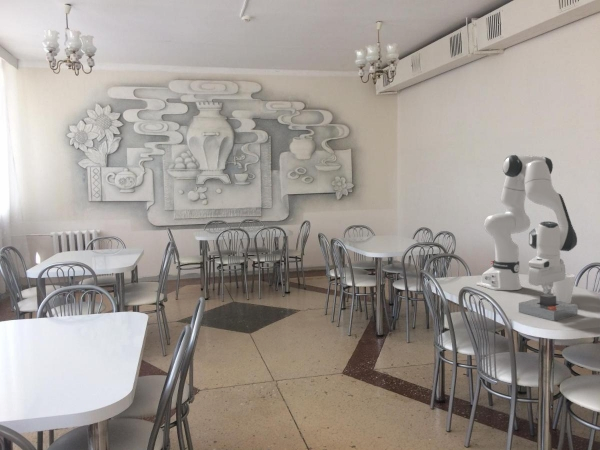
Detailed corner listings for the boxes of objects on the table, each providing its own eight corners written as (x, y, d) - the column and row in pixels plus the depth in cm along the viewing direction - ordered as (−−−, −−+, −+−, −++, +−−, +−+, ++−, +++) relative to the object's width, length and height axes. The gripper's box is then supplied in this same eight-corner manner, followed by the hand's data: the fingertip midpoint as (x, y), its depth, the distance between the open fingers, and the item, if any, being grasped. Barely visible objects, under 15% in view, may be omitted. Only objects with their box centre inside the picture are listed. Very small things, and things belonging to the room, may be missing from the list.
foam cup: (564, 306, 213) (565, 277, 212) (546, 302, 221) (546, 274, 220) (579, 303, 217) (579, 275, 216) (560, 299, 225) (561, 272, 224)
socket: (518, 312, 207) (518, 300, 207) (541, 306, 215) (542, 295, 215) (554, 320, 193) (554, 308, 193) (577, 314, 201) (577, 302, 201)
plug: (539, 312, 205) (540, 295, 204) (546, 311, 207) (546, 294, 206) (549, 315, 201) (549, 297, 200) (555, 313, 203) (556, 296, 203)
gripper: (556, 257, 210) (555, 288, 211) (525, 262, 200) (525, 295, 201) (570, 259, 204) (569, 291, 206) (539, 264, 195) (539, 298, 196)
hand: (547, 293), depth 204 cm, fingers closed
